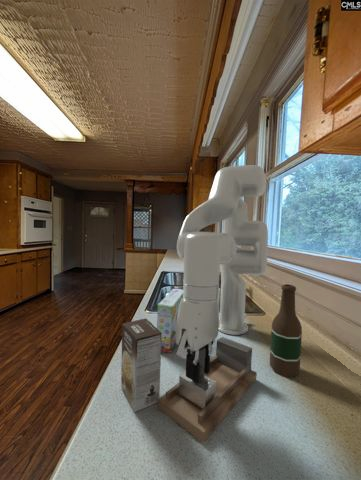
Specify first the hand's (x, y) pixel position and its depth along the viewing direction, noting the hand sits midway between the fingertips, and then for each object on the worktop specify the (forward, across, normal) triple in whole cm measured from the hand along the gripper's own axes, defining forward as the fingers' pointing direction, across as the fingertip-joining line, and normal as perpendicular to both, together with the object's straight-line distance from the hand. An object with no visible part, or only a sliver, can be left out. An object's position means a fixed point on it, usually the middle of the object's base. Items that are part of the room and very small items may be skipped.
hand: (197, 374), depth 50 cm
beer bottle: (+8, -28, +10) cm, 31 cm away
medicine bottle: (+8, -31, -36) cm, 48 cm away
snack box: (+8, -20, -26) cm, 34 cm away
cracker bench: (+7, -6, 0) cm, 10 cm away
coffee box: (+8, +6, -12) cm, 15 cm away
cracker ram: (+5, 0, 0) cm, 5 cm away
